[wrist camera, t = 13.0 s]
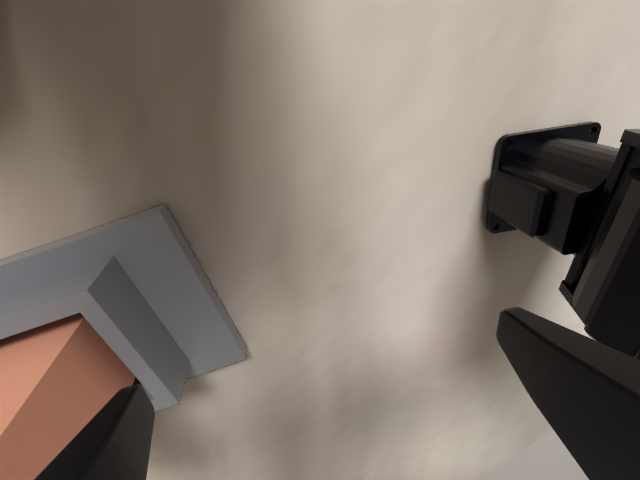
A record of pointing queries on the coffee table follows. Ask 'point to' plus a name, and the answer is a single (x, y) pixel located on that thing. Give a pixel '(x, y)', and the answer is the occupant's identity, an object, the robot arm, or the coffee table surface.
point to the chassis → (127, 299)
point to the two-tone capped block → (52, 391)
